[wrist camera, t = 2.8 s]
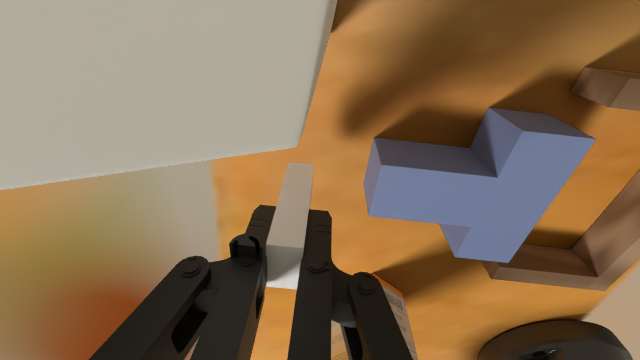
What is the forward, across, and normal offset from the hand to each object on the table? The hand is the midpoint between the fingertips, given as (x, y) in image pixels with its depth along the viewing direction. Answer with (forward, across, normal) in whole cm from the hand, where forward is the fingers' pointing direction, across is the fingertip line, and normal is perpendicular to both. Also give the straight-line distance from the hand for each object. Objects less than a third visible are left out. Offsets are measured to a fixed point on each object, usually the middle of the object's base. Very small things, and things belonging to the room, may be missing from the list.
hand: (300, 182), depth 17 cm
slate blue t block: (+4, -10, 0) cm, 11 cm away
